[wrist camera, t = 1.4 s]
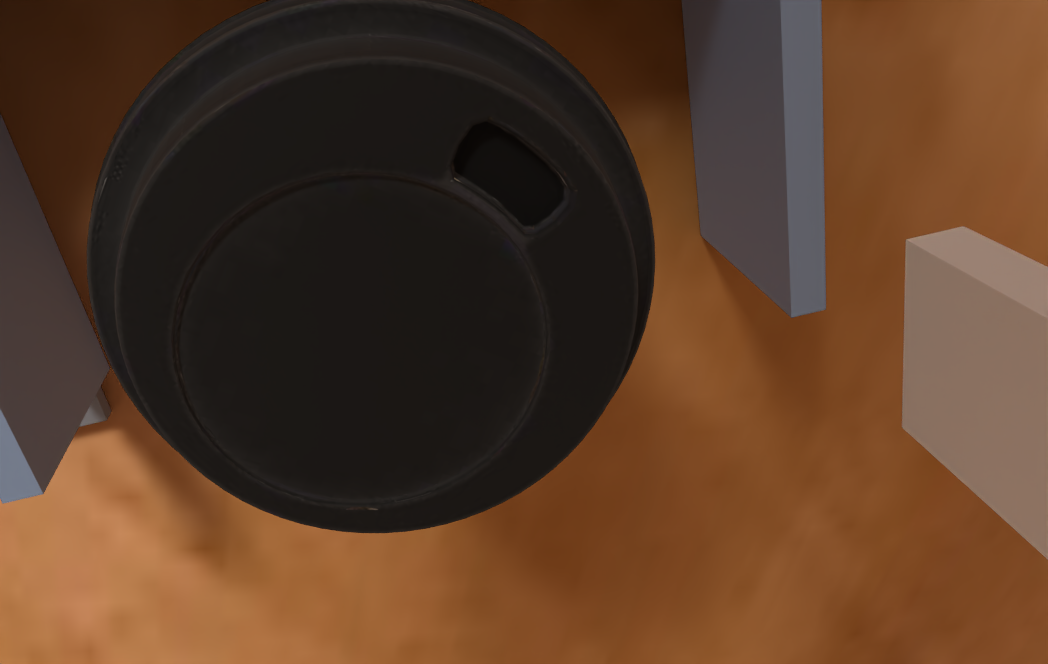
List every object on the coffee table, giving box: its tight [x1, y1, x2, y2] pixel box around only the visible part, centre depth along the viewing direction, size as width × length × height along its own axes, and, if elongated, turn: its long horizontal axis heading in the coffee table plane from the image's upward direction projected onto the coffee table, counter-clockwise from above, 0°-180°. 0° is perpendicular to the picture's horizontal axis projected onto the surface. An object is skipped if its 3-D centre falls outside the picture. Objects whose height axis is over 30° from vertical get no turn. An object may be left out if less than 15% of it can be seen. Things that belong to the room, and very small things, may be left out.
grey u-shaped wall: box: [0, 0, 826, 503], centre depth 24 cm, size 13×22×7 cm, turn 100°
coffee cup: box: [87, 0, 655, 533], centre depth 20 cm, size 9×9×15 cm
